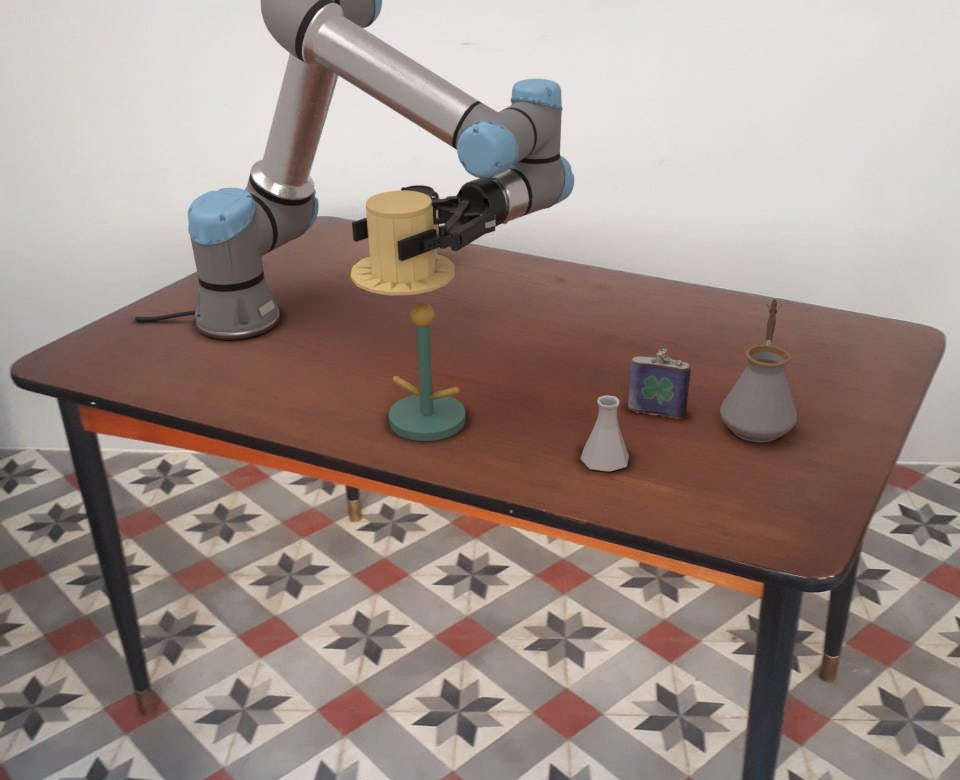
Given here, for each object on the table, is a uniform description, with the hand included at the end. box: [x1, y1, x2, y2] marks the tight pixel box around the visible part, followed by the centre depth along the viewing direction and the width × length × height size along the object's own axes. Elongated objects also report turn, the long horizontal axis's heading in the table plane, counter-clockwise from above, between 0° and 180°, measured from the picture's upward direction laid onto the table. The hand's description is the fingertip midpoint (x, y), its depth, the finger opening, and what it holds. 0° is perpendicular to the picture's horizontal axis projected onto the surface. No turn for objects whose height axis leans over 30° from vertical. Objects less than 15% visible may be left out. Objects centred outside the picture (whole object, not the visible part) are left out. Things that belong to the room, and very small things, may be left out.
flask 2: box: [627, 348, 692, 420], centre depth 162 cm, size 9×3×11 cm, turn 71°
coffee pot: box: [719, 299, 798, 443], centre depth 160 cm, size 21×12×15 cm, turn 164°
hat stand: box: [388, 301, 467, 442], centre depth 158 cm, size 12×12×20 cm
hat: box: [350, 190, 456, 296], centre depth 149 cm, size 15×15×11 cm
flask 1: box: [580, 394, 630, 472], centre depth 151 cm, size 7×7×10 cm
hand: (376, 241), depth 146 cm, fingers closed on hat, 9 cm apart
